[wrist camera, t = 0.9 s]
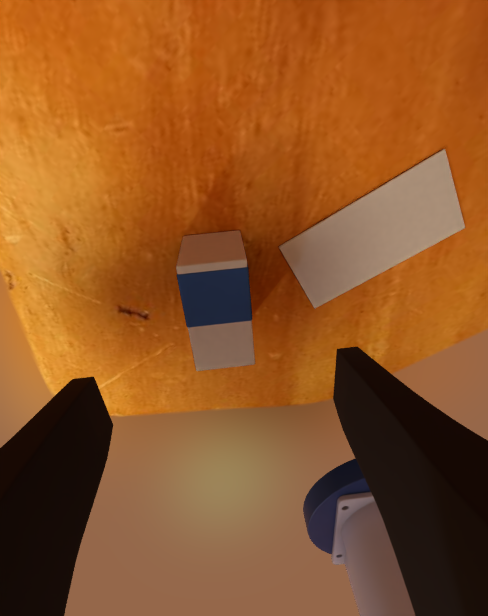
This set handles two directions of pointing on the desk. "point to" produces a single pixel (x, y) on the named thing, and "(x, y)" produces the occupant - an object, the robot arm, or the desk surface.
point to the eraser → (216, 299)
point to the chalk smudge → (376, 231)
